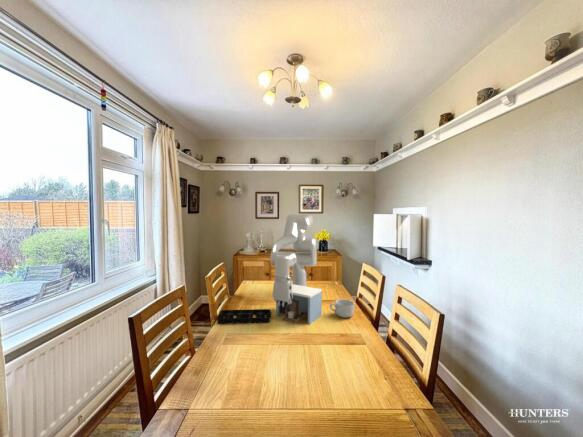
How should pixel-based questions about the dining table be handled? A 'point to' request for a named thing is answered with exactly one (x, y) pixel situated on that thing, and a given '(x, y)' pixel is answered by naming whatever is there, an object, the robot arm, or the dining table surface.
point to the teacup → (343, 308)
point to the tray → (294, 313)
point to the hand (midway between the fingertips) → (282, 313)
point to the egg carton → (244, 316)
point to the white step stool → (306, 301)
